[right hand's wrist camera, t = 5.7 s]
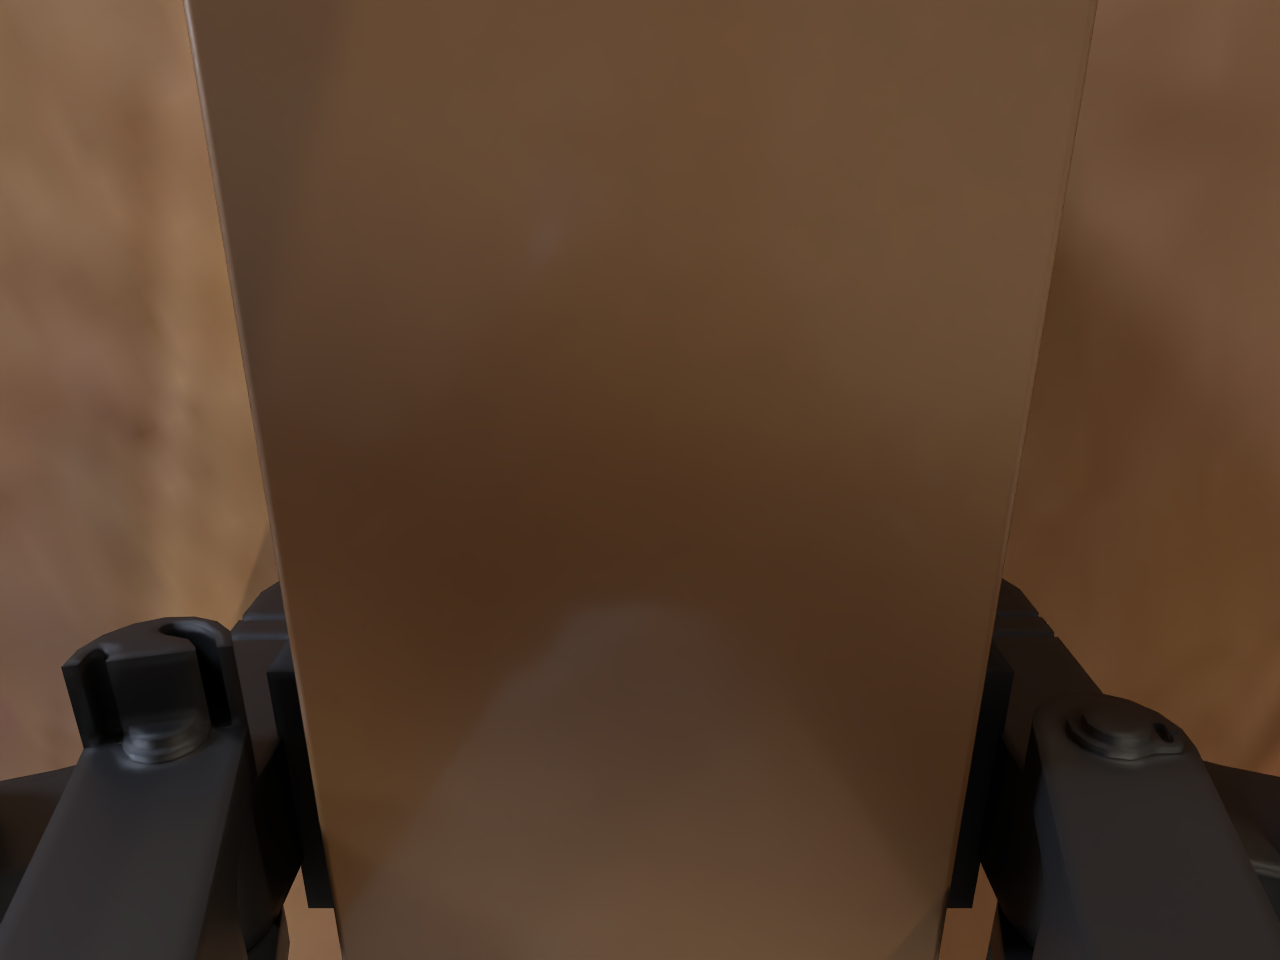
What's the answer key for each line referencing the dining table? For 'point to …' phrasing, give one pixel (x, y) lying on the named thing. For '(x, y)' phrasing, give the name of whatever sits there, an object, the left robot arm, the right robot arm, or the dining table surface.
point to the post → (640, 446)
